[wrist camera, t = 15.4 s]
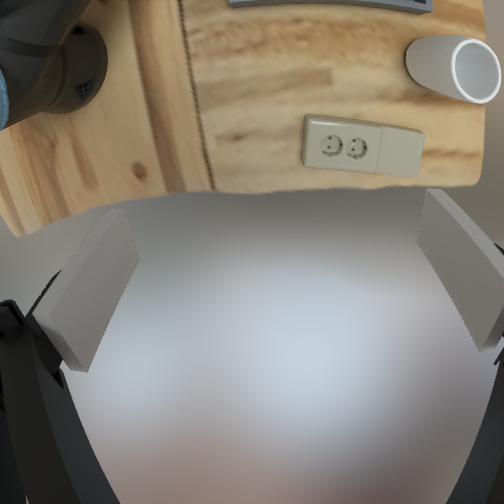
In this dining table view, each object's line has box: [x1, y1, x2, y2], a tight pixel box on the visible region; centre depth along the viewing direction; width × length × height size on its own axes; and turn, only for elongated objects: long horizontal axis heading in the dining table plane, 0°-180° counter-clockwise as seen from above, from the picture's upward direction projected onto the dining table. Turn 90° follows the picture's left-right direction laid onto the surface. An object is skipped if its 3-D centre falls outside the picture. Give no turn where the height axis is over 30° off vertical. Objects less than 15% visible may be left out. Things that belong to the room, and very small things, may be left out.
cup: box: [406, 35, 501, 104], centre depth 30 cm, size 8×8×14 cm
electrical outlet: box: [301, 114, 426, 178], centre depth 43 cm, size 7×4×18 cm
